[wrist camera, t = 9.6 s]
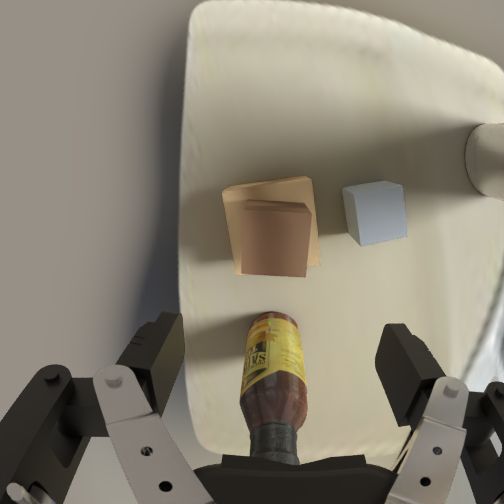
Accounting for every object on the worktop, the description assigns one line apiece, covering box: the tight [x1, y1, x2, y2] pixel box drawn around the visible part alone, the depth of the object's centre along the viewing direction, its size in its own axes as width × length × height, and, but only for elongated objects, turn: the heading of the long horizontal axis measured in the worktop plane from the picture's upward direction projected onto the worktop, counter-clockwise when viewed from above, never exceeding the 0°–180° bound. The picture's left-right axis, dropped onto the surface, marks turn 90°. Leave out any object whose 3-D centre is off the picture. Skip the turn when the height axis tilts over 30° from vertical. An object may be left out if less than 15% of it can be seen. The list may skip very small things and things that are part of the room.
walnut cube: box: [241, 199, 312, 277], centre depth 26 cm, size 5×5×5 cm
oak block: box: [222, 176, 320, 276], centre depth 30 cm, size 8×8×5 cm
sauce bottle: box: [240, 312, 308, 465], centre depth 27 cm, size 7×6×20 cm
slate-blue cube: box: [341, 180, 408, 246], centre depth 29 cm, size 5×5×5 cm
